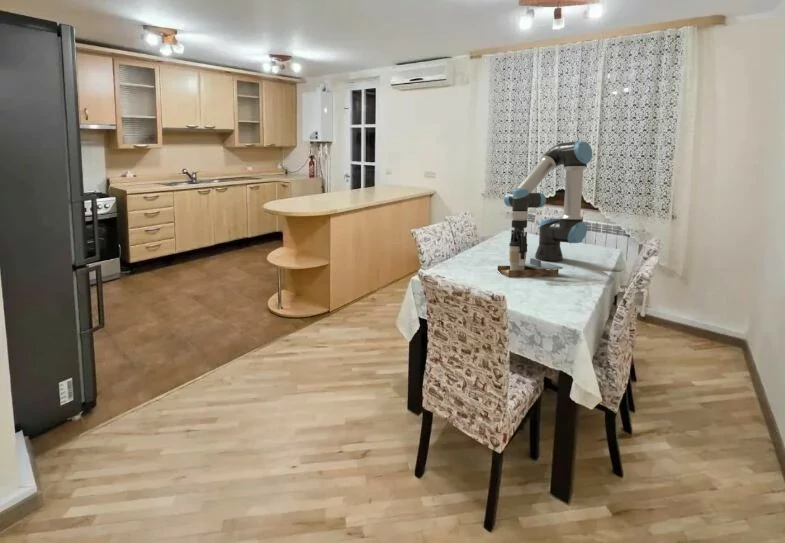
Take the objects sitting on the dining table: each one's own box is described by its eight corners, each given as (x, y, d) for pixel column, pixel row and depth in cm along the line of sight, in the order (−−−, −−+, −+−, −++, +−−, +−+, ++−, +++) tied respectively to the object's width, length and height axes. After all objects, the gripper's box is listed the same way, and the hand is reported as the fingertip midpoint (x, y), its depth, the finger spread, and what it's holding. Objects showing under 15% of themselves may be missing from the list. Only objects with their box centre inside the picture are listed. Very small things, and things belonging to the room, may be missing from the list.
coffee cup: (505, 268, 249) (506, 239, 247) (522, 268, 250) (524, 239, 247) (511, 271, 240) (512, 241, 238) (529, 271, 241) (530, 241, 238)
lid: (548, 264, 255) (548, 257, 255) (562, 268, 240) (563, 261, 240) (523, 264, 253) (523, 257, 253) (536, 269, 238) (536, 261, 237)
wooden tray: (543, 271, 256) (544, 265, 255) (558, 276, 240) (558, 269, 240) (497, 272, 252) (497, 265, 251) (508, 277, 236) (509, 270, 236)
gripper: (504, 218, 251) (502, 261, 254) (521, 221, 230) (519, 267, 233) (517, 218, 252) (515, 261, 255) (536, 220, 231) (533, 267, 235)
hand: (517, 264), depth 244 cm, fingers open, 9 cm apart
